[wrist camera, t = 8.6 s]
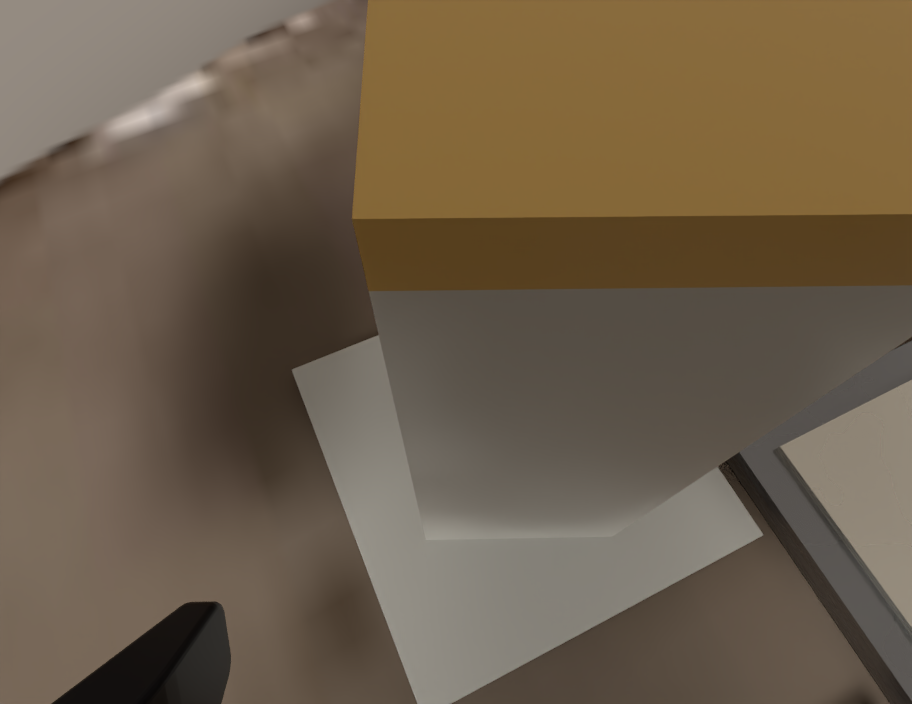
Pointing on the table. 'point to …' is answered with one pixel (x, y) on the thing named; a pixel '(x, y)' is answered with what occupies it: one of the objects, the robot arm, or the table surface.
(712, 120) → the block
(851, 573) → the case base
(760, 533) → the case lid
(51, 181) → the table surface
